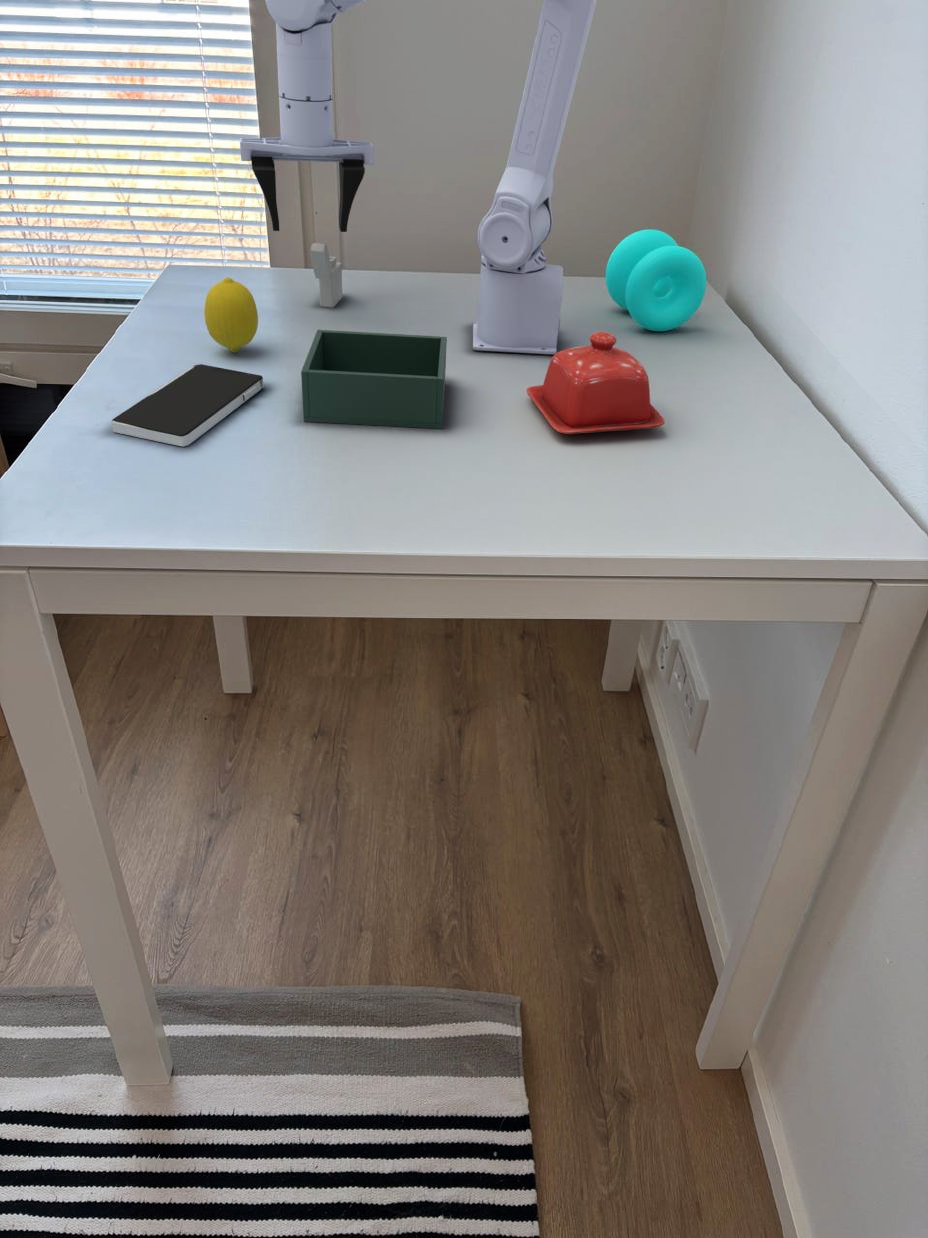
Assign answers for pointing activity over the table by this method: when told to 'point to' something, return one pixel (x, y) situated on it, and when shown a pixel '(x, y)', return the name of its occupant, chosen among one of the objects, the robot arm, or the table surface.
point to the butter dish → (595, 390)
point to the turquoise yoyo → (655, 280)
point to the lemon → (231, 314)
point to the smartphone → (188, 405)
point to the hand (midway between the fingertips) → (309, 229)
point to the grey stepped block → (327, 275)
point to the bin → (375, 379)
